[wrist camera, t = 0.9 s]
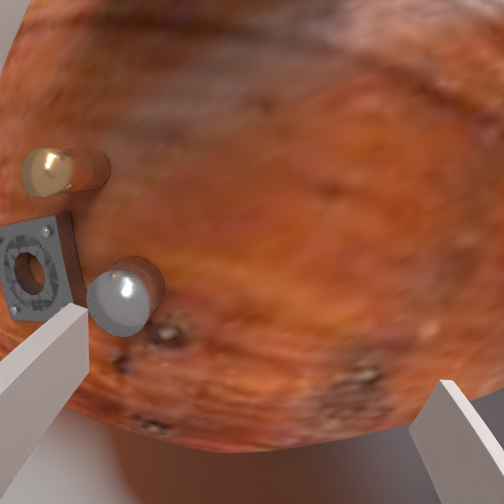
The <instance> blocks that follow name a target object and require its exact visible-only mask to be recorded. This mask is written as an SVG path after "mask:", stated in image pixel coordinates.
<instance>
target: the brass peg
mask: <svg viewBox="0 0 504 504" xmlns="http://www.w3.org/2000/svg"><path fill="white" fill-rule="evenodd" d="M109 174H110V163H109V160H108V158H107V157H106V155H105V154H103V153H102V152H99V151H89V150H72V149H51V148H37V149H34V150H33V151H31V152H30V153H29V154H28V155H27V157H26V158H25V160H24V162H23V165H22V171H21V179H22V184H23V187H24V189H25V191H26V192H27V193H28V194H29V195H30V196H32V197H34V198H41V197H46V196H51V195H57V194H63V193H68V192H74V191H80V190H86V189H93V188H98V187H100V186H102V185H103V184H104V183H105V182H106V181H107V179H108V177H109Z"/></svg>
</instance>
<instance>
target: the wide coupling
mask: <svg viewBox="0 0 504 504" xmlns="http://www.w3.org/2000/svg"><path fill="white" fill-rule="evenodd" d="M164 292H165V285H164V280H163V277H162V275H161V273H160V271H159V270H158V269H157V267H156V266H155V265H154V264H153V263H151V262H150V261H148V260H146V259H144V258H141V257H136V256H131V257H127V258H124V259H122V260H121V261H119V262H118V263H116V264H115V265H114V266H112V267H111V268H109V269H108V270H107V271H105V272H104V273H102V274H101V275H99V276H98V277H97V278H95V279H94V280H93V281H92V282H91V284H90V285H89V287H88V290H87V295H86V301H87V307H88V310H89V313H90V315H91V317H92V318H93V320H94V321H95V323H96V324H97V325H98V326H99V327H100V328H101V329H103V330H104V331H106V332H107V333H109V334H111V335H114V336H118V337H129V336H132V335H135V334H136V333H138V332H139V331H140V330H141V329H142V328H143V326H144V325H145V323H146V322H147V321H148V319H149V318H150V316H151V315H152V314H153V312H154V311H155V309H156V308H157V307H158V305H159V304H160V302H161V301H162V299H163V296H164Z"/></svg>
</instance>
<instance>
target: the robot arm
mask: <svg viewBox="0 0 504 504" xmlns="http://www.w3.org/2000/svg"><path fill="white" fill-rule="evenodd" d="M89 371H90V370H89V346H88V309H86V308H84V307H81V306H78V305H75V304H72V303H69V304H68V305H67V306H65V307H64V308H63V309H62V310H60V311H59V312H58V313H57V314H55V315H54V316H53V317H52V318H51V319H49V320H48V321H47V322H46V323H45V324H43V325H42V326H41V327H40V328H39V329H37V330H36V331H35V332H34V333H33V334H31V335H30V336H29V337H28V338H27V339H26V340H24V341H23V342H22V343H21V344H20V345H19V346H17V347H16V348H15V349H14V350H13V351H12V352H11V353H9V354H8V355H7V356H6V357H5V358H4V359H3V360H2V361H0V499H1V498H2V496H3V495H4V493H5V492H6V490H7V489H8V487H9V485H10V484H11V482H12V481H13V479H14V478H15V476H16V475H17V473H18V471H19V470H20V468H21V467H22V465H23V464H24V462H25V461H26V459H27V457H28V456H29V455H30V453H31V452H32V451H33V449H34V447H35V446H36V444H37V443H38V442H39V440H40V439H41V437H42V436H43V434H44V433H45V432H46V430H47V429H48V427H49V426H50V424H51V423H52V422H53V420H54V419H55V418H56V416H57V415H58V413H59V412H60V410H61V409H62V408H63V406H64V405H65V404H66V402H67V401H68V400H69V398H70V397H71V395H72V394H73V393H74V391H75V390H76V389H77V387H78V386H79V385H80V383H81V382H82V381H83V379H84V378H85V377H86V375H87V374H88V373H89ZM408 430H409V432H410V434H411V436H412V438H413V440H414V443H415V445H416V447H417V449H418V451H419V453H420V456H421V458H422V460H423V462H424V464H425V466H426V469H427V471H428V473H429V475H430V478H431V480H432V482H433V484H434V487H435V489H436V491H437V493H438V496H439V498H440V500H441V503H442V504H504V450H503V449H502V448H501V446H500V445H499V443H498V442H497V440H496V439H495V437H494V436H493V435H492V434H491V432H490V430H489V429H488V427H487V426H486V425H485V423H484V422H483V420H482V419H481V418H480V416H479V415H478V413H477V412H476V411H475V410H474V408H473V407H472V405H471V404H470V403H469V401H468V400H467V399H466V397H465V396H464V394H463V393H462V392H461V391H460V389H459V388H458V387H457V385H456V384H455V383H454V381H453V380H439V382H438V383H437V385H436V387H435V388H434V390H433V392H432V394H431V395H430V397H429V398H428V400H427V402H426V403H425V405H424V406H423V408H422V410H421V411H420V413H419V414H418V416H417V417H416V419H415V420H414V422H413V423H412V425H411V426H410V428H409V429H408Z"/></svg>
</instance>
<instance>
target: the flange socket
mask: <svg viewBox="0 0 504 504" xmlns="http://www.w3.org/2000/svg"><path fill="white" fill-rule="evenodd" d="M29 253H31V254H32V255H34V256H35V257H36V258H37V259H38V261H39V262H40V264H41V265H42V267H43V271H44V276H45V284H44V287H43V286H42V285H40V284H39V283H37V282H36V281H35V279H34V278H33V276H32V275H31V273H30V270H29V265H28V258H29ZM0 281H1V285H2V289H3V292H4V296H5V299H6V302H7V306H8V309H9V312H10V315H11V318H12V320H22V321H48V320H49V319H51V318H52V317H53V316H54V315H55V314H57V313H58V312H59V311H60V310H62V309H63V308H64V307H65V306H67V305H68V304H69V303H72V304H75V305H78V306H81V307H84V308H86V309H88V307H87V301H86V295H87V294H86V290H85V286H84V282H83V278H82V273H81V269H80V264H79V259H78V255H77V250H76V244H75V239H74V234H73V228H72V222H71V215H70V212H65V213H59V214H54V215H49V216H44V217H39V218H34V219H30V220H25V221H20V222H16V223H11V224H7V225H3V226H0ZM88 314H89V310H88Z"/></svg>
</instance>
